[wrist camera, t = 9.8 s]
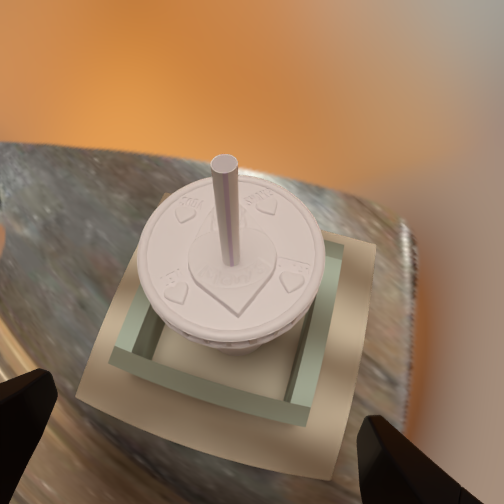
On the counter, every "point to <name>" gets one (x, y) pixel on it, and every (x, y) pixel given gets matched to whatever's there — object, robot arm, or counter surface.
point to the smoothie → (231, 260)
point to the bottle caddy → (241, 373)
